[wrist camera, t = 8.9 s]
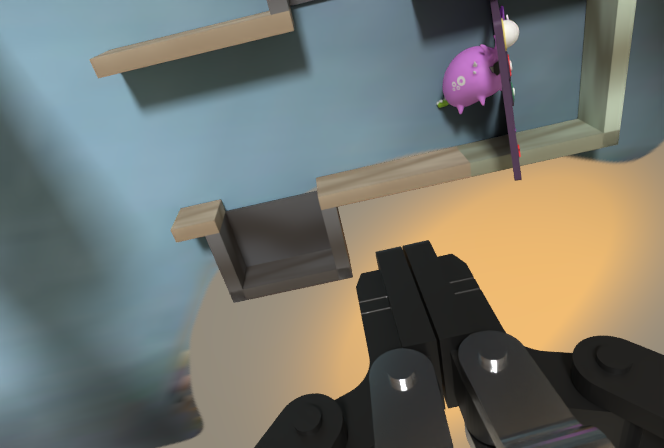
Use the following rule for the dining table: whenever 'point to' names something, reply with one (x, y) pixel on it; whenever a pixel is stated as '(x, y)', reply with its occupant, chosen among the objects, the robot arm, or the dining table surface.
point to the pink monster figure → (486, 76)
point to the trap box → (380, 179)
